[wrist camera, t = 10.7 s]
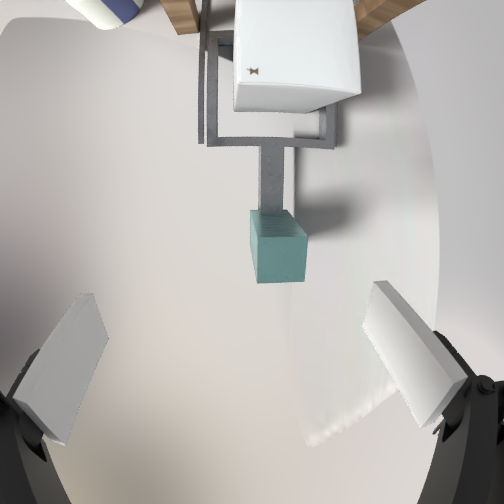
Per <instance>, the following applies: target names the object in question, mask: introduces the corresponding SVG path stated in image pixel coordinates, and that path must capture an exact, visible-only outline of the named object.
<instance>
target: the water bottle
mask: <svg viewBox="0 0 504 504" xmlns="http://www.w3.org/2000/svg"><path fill="white" fill-rule="evenodd" d="M66 1H67V2H68V3H69V4H70V5H71V6H72V7H73V8H75V9H76V10H78V11H79V12H80V13H82V14H83V15H84V16H85V17H86V18H87V19H89V20H90V21H91V22H92V23H93V24H94V25H95V26H96V27H97V28H99V29H103V30H109V29H114V28H117V27H120V26H122V25H124V24H125V23H127V22H128V21H130V20H131V19H132V18H133V17H134V16H135V15H136V14H137V13H138V12H139V11H140V9H141V7H142V5H143V2H144V0H66Z"/></svg>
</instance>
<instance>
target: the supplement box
mask: <svg viewBox="0 0 504 504" xmlns="http://www.w3.org/2000/svg"><path fill="white" fill-rule="evenodd" d="M233 90H234V91H233V93H234V111H235V112H285V113H286V112H287V113H308V112H311V111H313V110H316V109H319V108H321V107H324V106H326V105H329V104H332V103H334V102H337V101H340V100H343V99H346V98H349V97H352V96H355V95H358V94H361V71H360V56H359V44H358V34H357V25H356V18H355V11H354V4H353V0H236V7H235V26H234V52H233Z"/></svg>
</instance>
